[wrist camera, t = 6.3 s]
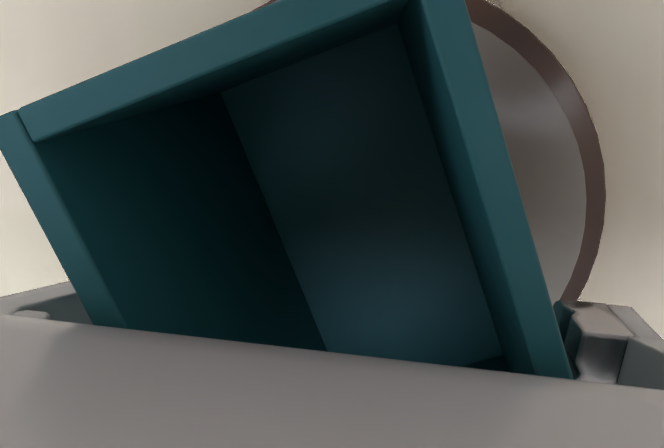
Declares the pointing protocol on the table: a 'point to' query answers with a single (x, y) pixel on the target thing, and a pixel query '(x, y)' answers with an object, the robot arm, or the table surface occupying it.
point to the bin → (298, 190)
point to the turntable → (545, 147)
